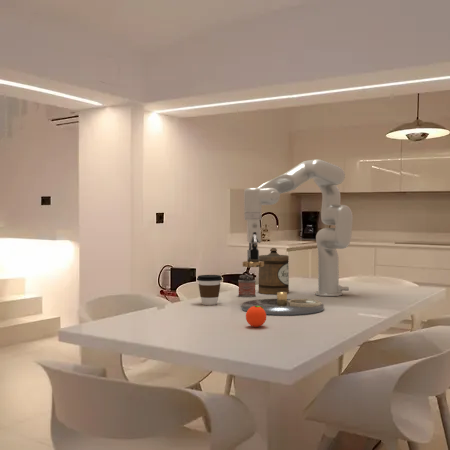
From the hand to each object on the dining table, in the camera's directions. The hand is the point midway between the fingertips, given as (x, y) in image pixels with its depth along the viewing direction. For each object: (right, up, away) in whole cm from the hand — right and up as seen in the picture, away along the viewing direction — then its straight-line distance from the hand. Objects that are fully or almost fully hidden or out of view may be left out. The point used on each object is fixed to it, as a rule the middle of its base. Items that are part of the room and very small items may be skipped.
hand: (253, 258), depth 235 cm
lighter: (-2, -19, +19) cm, 27 cm away
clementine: (-2, -20, -52) cm, 56 cm away
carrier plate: (+11, -19, -16) cm, 27 cm away
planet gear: (0, -3, 0) cm, 3 cm away
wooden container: (+12, -19, +32) cm, 39 cm away
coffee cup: (-19, -20, -3) cm, 27 cm away
